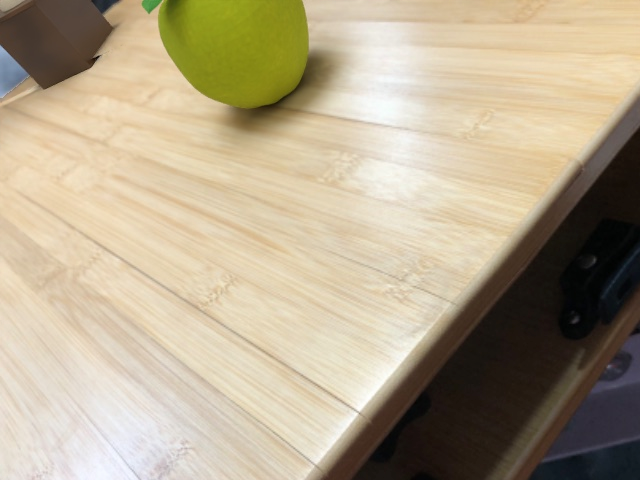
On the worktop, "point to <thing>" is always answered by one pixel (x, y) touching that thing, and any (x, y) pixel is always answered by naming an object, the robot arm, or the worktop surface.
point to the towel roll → (9, 4)
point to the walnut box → (53, 37)
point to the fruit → (236, 46)
